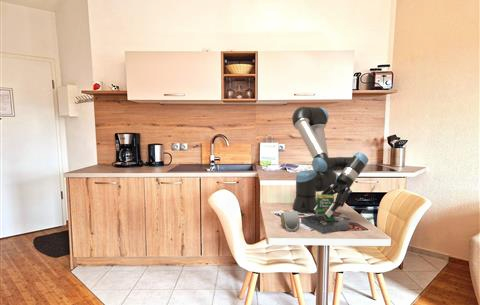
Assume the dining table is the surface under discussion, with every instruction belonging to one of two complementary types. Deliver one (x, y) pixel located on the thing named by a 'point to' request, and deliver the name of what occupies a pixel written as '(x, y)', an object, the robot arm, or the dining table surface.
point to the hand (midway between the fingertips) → (321, 213)
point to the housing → (324, 228)
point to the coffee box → (324, 207)
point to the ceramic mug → (290, 220)
